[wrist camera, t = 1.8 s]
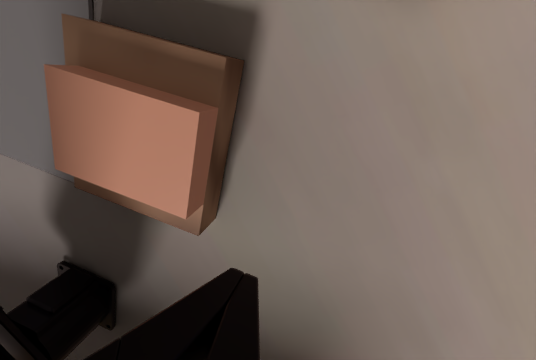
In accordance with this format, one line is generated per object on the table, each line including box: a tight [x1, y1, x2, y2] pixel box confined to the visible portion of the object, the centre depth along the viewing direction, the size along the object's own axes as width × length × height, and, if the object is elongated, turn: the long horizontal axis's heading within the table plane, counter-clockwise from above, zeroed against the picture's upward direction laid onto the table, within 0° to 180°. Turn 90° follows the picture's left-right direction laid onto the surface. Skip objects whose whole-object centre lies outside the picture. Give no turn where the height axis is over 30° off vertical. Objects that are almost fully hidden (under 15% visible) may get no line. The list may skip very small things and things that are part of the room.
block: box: [44, 64, 218, 219], centre depth 15 cm, size 9×6×2 cm, turn 77°
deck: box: [61, 13, 244, 236], centre depth 17 cm, size 11×10×2 cm
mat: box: [0, 0, 93, 183], centre depth 20 cm, size 14×11×1 cm
